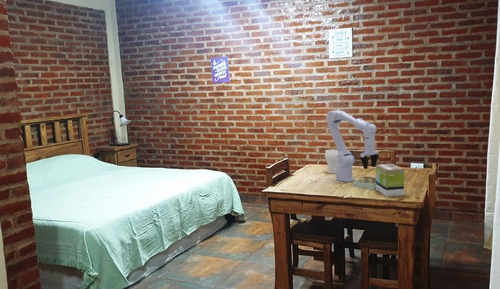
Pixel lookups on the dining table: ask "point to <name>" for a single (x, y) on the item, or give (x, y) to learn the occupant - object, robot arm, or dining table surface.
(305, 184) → the dining table surface
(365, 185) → the tray
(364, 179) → the pine crate
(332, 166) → the beige flared cylinder
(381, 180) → the tea box
